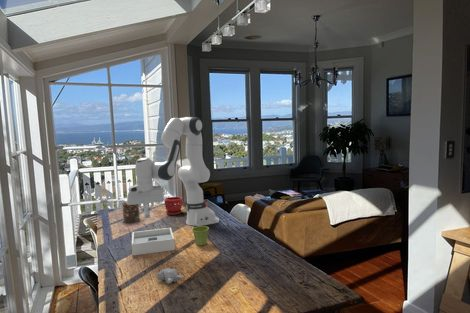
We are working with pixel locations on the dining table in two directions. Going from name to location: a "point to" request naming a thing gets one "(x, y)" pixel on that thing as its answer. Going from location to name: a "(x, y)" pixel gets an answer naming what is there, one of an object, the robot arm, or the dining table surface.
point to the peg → (146, 210)
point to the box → (152, 241)
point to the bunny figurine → (169, 275)
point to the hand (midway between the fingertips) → (146, 210)
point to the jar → (130, 212)
